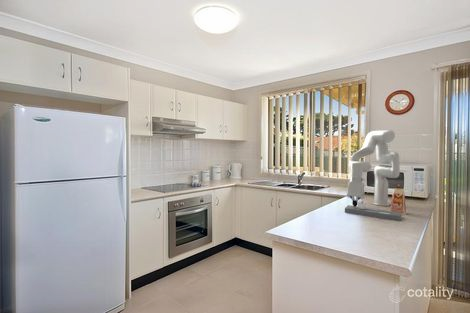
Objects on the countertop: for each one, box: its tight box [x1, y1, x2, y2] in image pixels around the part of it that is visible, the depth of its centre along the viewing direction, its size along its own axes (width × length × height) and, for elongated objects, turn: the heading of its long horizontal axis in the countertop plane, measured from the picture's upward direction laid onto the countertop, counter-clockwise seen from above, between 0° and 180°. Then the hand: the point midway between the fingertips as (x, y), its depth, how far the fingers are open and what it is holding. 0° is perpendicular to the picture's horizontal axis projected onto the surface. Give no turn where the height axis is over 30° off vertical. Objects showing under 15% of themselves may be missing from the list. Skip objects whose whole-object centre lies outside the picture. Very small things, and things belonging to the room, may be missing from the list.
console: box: [344, 204, 402, 222], centre depth 168 cm, size 12×32×3 cm, turn 56°
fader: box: [357, 200, 367, 209], centre depth 171 cm, size 5×4×4 cm
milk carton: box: [389, 184, 407, 216], centre depth 176 cm, size 9×9×20 cm
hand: (354, 206), depth 174 cm, fingers closed
